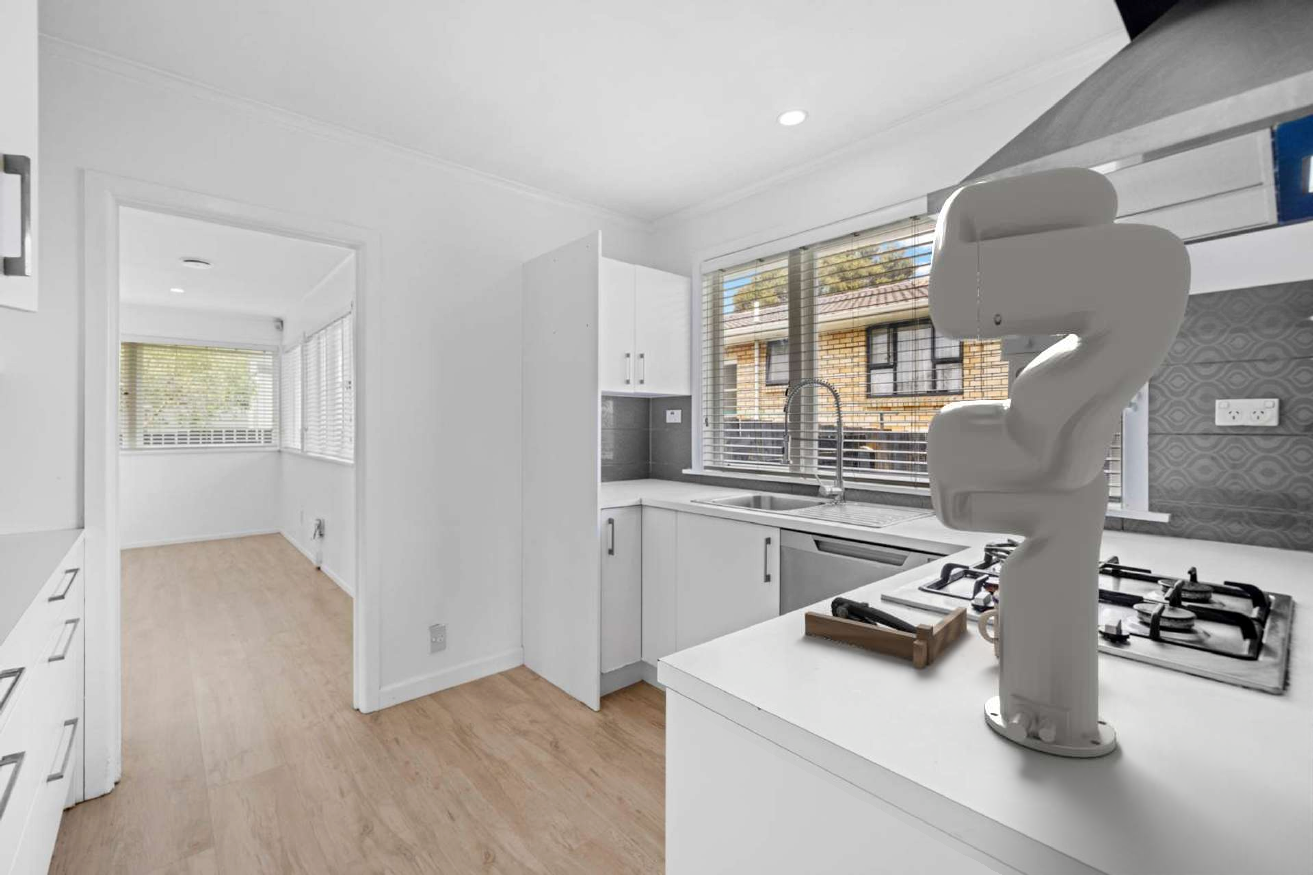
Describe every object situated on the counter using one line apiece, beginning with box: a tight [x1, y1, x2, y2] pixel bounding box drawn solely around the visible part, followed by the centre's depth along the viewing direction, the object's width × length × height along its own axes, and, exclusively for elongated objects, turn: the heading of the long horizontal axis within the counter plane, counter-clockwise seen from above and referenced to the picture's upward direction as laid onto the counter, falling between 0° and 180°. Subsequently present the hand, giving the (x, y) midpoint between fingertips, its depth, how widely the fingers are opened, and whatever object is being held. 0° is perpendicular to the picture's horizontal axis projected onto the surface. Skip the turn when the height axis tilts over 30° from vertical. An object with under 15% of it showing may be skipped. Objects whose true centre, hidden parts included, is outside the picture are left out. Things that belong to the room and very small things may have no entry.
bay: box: [804, 606, 968, 670], centre depth 100 cm, size 22×20×5 cm
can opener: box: [830, 596, 917, 634], centre depth 98 cm, size 18×7×6 cm, turn 31°
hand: (1031, 476), depth 86 cm, fingers closed
